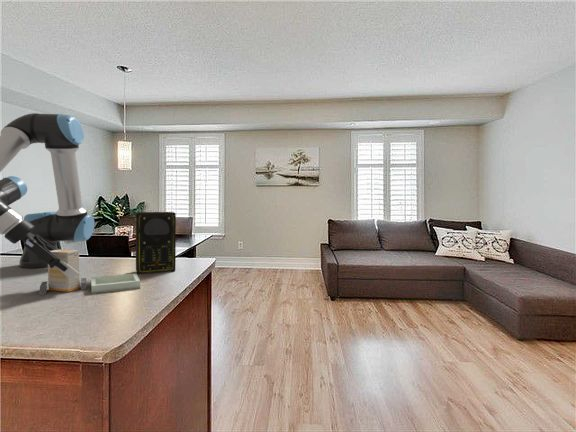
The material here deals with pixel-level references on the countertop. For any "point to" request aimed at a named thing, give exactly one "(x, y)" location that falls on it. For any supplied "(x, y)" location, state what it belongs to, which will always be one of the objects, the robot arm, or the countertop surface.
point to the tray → (114, 283)
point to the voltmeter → (155, 242)
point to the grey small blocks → (45, 286)
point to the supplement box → (60, 280)
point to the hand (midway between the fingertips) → (75, 272)
